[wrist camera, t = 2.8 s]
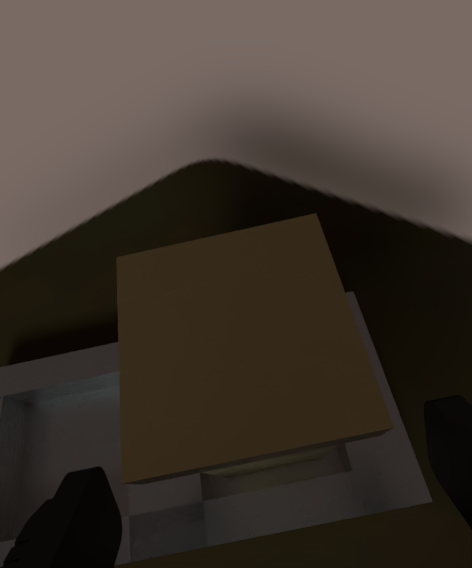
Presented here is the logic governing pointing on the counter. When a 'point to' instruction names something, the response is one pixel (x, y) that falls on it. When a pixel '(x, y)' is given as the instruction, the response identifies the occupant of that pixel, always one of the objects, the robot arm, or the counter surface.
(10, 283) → the counter surface
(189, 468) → the brown square post
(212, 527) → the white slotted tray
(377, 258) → the counter surface
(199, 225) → the counter surface
